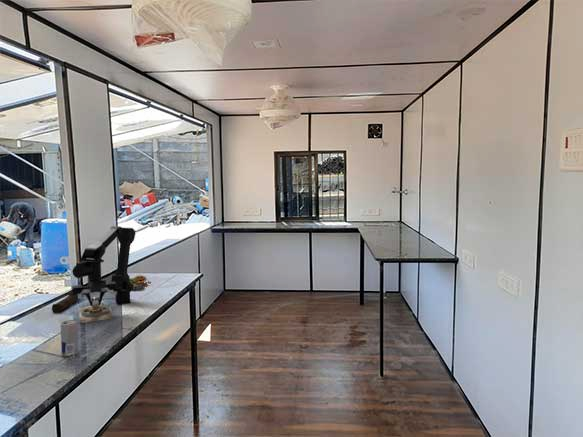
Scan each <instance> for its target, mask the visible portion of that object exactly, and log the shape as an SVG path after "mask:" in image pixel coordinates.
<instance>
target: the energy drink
mask: <svg viewBox="0 0 583 437" xmlns="http://www.w3.org/2000/svg"><path fill="white" fill-rule="evenodd" d="M78 328H79V327H78V322H77V320H76V319H75V320H74V319H68V320H64V321H62V322H61V324H60V340H61V341H60V342H61V344H60V345H61V346H60V347H61V355H62V357H65V356H69V357H72V356H71V355H73V356H76V355H77V354H79V334H78V333H79V331H78ZM75 354H76V355H75Z"/></svg>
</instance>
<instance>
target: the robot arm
mask: <svg viewBox="0 0 583 437" xmlns="http://www.w3.org/2000/svg"><path fill="white" fill-rule="evenodd" d="M136 235H137V234H136V230H135V229H134V228H133V227H122V226H116V225H115V226H114V225H113V226H110V228H109V230H108V231H107V232H106V233H105V234H104V235H102V236H101V237H100V238H99V240H97V241H96V242H94V243H91V244H89V245H88V246H86V247H85V249H84V251H83V253H82V255H81V258H80V260H79V262H76V263H75V266H73V268H72V270H71V271H72V275H73V277H74V278H76V279H80V278H85V277H87V286H82V284H79V285H78V284H77V285H72V286H71V292H72V294H78V295H79V294H80V295H81V294H82V295H83V296H85V297H86V298H87V300H88V303H89V306H92V300H91V298H92V297H91V294H93V293H99V296H98V297H99V305H100V304H101V302H103V299H104V298H103V297H104V295H105V294H106V293H108V290H110V291H113V292H116V293H115V298H114V299H115V303H116V305H123V304H124V305H125V304H131V303H132V301H131V292H133V291H132V290H133V285H132V284H131V283H130V279H131V278H130V274H128V269H129V268H128V267H129V259H130V251H131V245H132V243H133V242H134V241H135V237H136ZM116 238H117V241H118V244H119V250H118V251H119V252H118V256H117V257H118V259H117V267H116V271H115V274H112V275H111V281H107V280H106V279H103V280H102V265H101V264H102V263H104V262H105V260H104V259H102V258H103V256H104V255H105V254H106V249H107V248H108V247H109V246H110V245H111V244H112V242H114V240H116Z"/></svg>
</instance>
